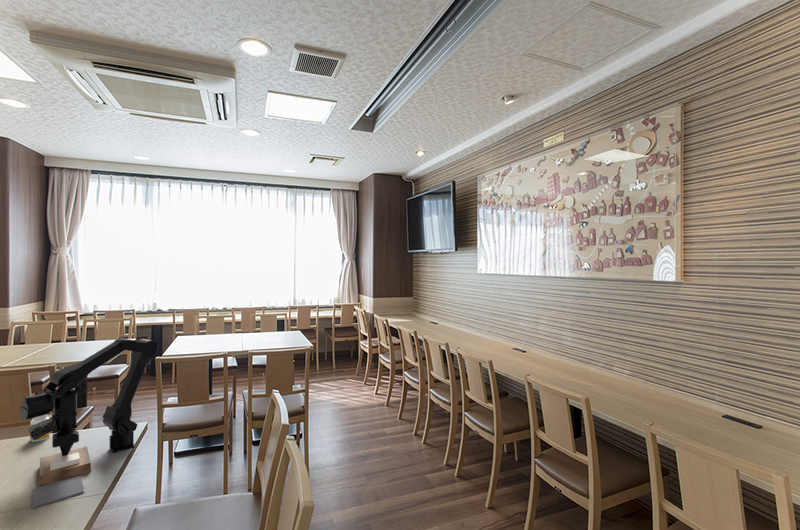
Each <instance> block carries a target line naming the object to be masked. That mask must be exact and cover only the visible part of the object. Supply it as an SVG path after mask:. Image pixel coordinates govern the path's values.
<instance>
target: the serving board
mask: <svg viewBox="0 0 800 530" xmlns="http://www.w3.org/2000/svg"><path fill="white" fill-rule="evenodd" d="M78 452H79V457H80V463H78V464H74V465H70V466H66V467H63V468H59V469H55V470H51V471H50V459H54V458H58V457H62V453H61V452H59V453H55V454H50V455H47V456H43V457H39V487H41V486H45V485H48V484H52V483H55V482H59V481H62V480H66V479H69V478H73V477H76V476H80V475H81V476H82V475H85V474H88V473H91V472H92V463H91V457H90V454H89V449H88V446H84V447H79V448H74V449H72V450H71V449H70V451H69V453H68V455H70V454H74V453H78Z"/></svg>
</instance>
